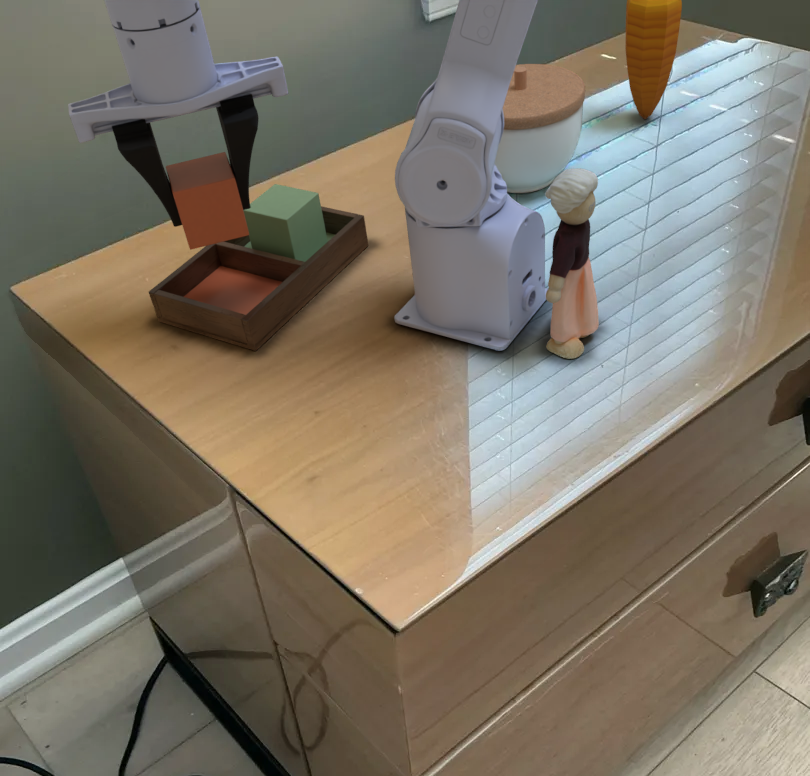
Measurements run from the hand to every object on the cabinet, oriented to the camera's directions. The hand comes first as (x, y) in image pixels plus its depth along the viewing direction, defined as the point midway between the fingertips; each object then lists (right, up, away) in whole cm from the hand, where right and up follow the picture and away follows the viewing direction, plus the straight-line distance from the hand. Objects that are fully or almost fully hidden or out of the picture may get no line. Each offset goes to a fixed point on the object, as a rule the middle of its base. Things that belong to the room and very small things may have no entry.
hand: (211, 211), depth 70 cm
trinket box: (+25, +8, +16) cm, 31 cm away
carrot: (+37, +16, +21) cm, 45 cm away
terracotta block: (0, -1, +1) cm, 1 cm away
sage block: (+5, 0, +10) cm, 11 cm away
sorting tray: (+3, -3, +8) cm, 9 cm away
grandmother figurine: (+27, -10, -1) cm, 28 cm away
